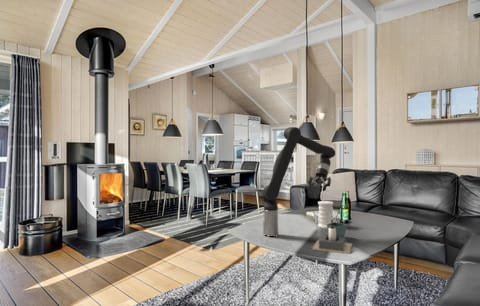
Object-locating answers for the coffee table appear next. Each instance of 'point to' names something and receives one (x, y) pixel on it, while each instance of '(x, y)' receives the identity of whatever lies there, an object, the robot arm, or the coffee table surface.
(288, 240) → the coffee table surface
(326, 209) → the decorative container
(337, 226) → the flower pot
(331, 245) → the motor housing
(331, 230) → the plug
